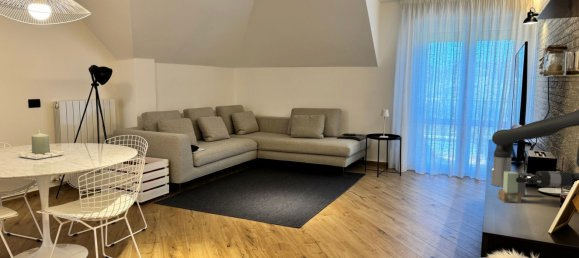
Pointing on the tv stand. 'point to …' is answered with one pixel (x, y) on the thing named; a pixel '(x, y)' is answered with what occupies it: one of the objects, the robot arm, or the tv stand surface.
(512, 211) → the tv stand surface
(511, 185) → the sage green block
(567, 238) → the tv stand surface
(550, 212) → the tv stand surface
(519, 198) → the brown box
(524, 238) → the tv stand surface
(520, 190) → the charcoal block
